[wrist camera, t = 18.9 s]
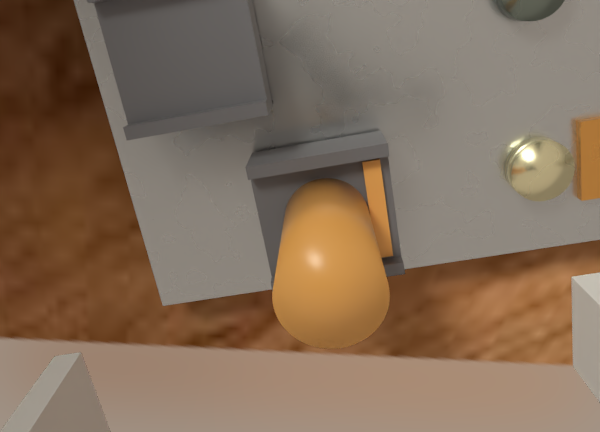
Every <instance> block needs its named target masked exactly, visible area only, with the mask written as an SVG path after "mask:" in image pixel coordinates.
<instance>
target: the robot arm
mask: <svg viewBox="0 0 600 432" xmlns="http://www.w3.org/2000/svg"><path fill="white" fill-rule="evenodd" d="M572 334H573V367H574V368H575V370H576V371H577V373H578V374H579V375H580V377H581V378H582V379H583V381H584V382H585V383H586V385H587V386H588V387H589V389H590V390H591V391H592V393H593V394H594V395H595V397H596V398H597V399H598V401H599V402H600V273H593V274H587V275H580V276H574V277H572ZM0 432H110V429H109V426H108V424H107V421H106V418H105V415H104V413H103V410H102V407H101V405H100V402H99V399H98V396H97V394H96V391H95V389H94V385H93V383H92V380H91V378H90V375H89V372H88V369H87V366H86V364H85V361H84V358H83V356H82V353H81V352H79V353H71V354H65V355H58V356H54V357H53V359H52V360H51V362H50V363H49V364H48V366H47V367H46V368H45V370H44V371H43V373H42V374H41V375H40V377H39V378H38V379H37V381H36V382H35V384H34V385H33V386H32V388H31V389H30V391H29V392H28V393H27V395H26V396H25V398H24V399H23V400H22V402H21V403H20V405H19V406H18V407H17V409H16V410H15V411H14V413H13V414H12V416H11V417H10V418H9V420H8V421H7V423H6V424H5V425H4V427H3V428H2V429H1V431H0Z"/></svg>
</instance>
